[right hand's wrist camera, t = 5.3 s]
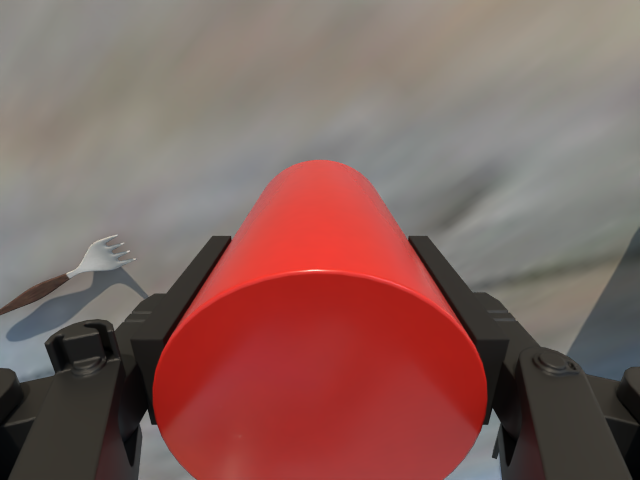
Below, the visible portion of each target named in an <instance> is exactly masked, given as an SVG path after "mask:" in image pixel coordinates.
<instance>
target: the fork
mask: <svg viewBox="0 0 640 480" xmlns="http://www.w3.org/2000/svg"><path fill="white" fill-rule="evenodd" d="M117 236H118V235H114V236H111V237H107V238H104V239H101V240H98V241H96V242H94V243H93V244H92V245H91V246H90V247H89V249H88V251H87V252H86V254H85V256H84V258H83V260H82V262H81V264H80V265H79V267H78V268H77V269H75V270H73V271H71V272H69V273H66V274H63V275H61V276H58V277H55V278H53V279H50V280H47V281H45V282H42V283H40V284H38V285H35V286H33V287H32V288H30V289H28V290H27V291H25V292H24V293H22V294H21V295H20V296H18V297H17V298H15V299H14V300H13V301H11V302H10V303H9V304H7V305H6V306H4V307H3V308H1V309H0V315H2V314H5V313H7V312H9V311H12V310H14V309H17V308H20V307H22V306H25V305H28V304H30V303H33V302H35V301H37V300H39V299H41V298H43V297H45V296H46V295H48V294H49V293H51V292H52V291H54V290H55V289H56V288H58V287H59V286H61V285H62V284H63V283H65V282H66V281H68V280H69V279H70V278H72V277H73V276H75V275H77V274H79V273H82V272H88V271H108V270H114V269H117V268H119V267H121V266H123V265H125V264H127V263H129V262H132V261H134V260H136V258H135V259H129V260H124V261H119V260H118V258H119V257H121V256H123V255H125V254H126V253H128V252H130V251H125V252H120V253H116V254H114V253H112V250H114V249H116V248H117V247H119V246H121V245H123V244H124V243H120V244H116V245H112V246H107V245H106V243H107V242H108V241H110V240H112V239H113V238H115V237H117Z"/></svg>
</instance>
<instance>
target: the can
mask: <svg viewBox="0 0 640 480" xmlns="http://www.w3.org/2000/svg"><path fill="white" fill-rule="evenodd" d="M487 399H488V398H487V379H486V375H485V371H484V367H483V363H482V360H481V358H480V356H479V353H478V351H477V349H476V346H475V345H474V343H473V342H472V340H471V338H470V337H469V335H468V334H467V332H466V331H465V329H464V328H463V326H462V324H461V323H460V321H459V320H458V318H457V317H456V315H455V313H454V312H453V310H452V309H451V307H450V306H449V304H448V302H447V301H446V299H445V298H444V296H443V295H442V293H441V291H440V290H439V288H438V287H437V285H436V284H435V282H434V280H433V279H432V277H431V276H430V274H429V273H428V271H427V269H426V268H425V266H424V265H423V263H422V262H421V260H420V258H419V257H418V255H417V254H416V252H415V251H414V249H413V247H412V246H411V244H410V243H409V241H408V240H407V238H406V237H405V235H404V233H403V232H402V230H401V229H400V227H399V226H398V224H397V222H396V221H395V219H394V218H393V216H392V215H391V213H390V211H389V210H388V208H387V207H386V205H385V204H384V202H383V200H382V199H381V197H380V196H379V194H378V193H377V191H376V190H375V188H374V186H373V185H372V184H371V183H370V182H369V181H368V179H367V178H365V177H364V176H363V175H362V174H361V173H359V172H358V171H356V170H355V169H353V168H351V167H349V166H347V165H345V164H341V163H338V162H334V161H329V160H312V161H306V162H301V163H298V164H296V165H293V166H291V167H289V168H287V169H285V170H284V171H282V172H281V173H279V174H278V175H277V176H276V177H275V178H274V179H272V180H271V181H270V183H269V184H268V185H267V186H266V188H265V189H264V191H263V192H262V194H261V196H260V197H259V199H258V200H257V202H256V203H255V205H254V206H253V208H252V210H251V211H250V213H249V214H248V216H247V217H246V219H245V221H244V222H243V224H242V225H241V227H240V228H239V230H238V232H237V233H236V235H235V236H234V238H233V239H232V241H231V243H230V244H229V246H228V247H227V249H226V250H225V252H224V253H223V255H222V257H221V258H220V260H219V261H218V263H217V264H216V266H215V268H214V269H213V271H212V272H211V274H210V275H209V277H208V279H207V280H206V282H205V283H204V285H203V286H202V288H201V290H200V291H199V293H198V294H197V296H196V297H195V299H194V300H193V302H192V304H191V305H190V307H189V308H188V310H187V311H186V313H185V315H184V316H183V318H182V319H181V321H180V322H179V324H178V326H177V327H176V329H175V330H174V332H173V333H172V335H171V337H170V338H169V340H168V342H167V344H166V345H165V347H164V349H163V351H162V353H161V355H160V358H159V361H158V364H157V366H156V370H155V375H154V381H153V408H154V413H155V419H156V422H157V425H158V428H159V431H160V433H161V436H162V438H163V440H164V441H165V443H166V445H167V447H168V449H169V450H170V452H171V453H172V454H173V456H174V457H175V458H176V460H177V461H178V462H179V463H180V465H181V466H182V467H183V468H184V469H185V470H186V471H187V472H188V473H189V474H190V475H191V476H193V477H194V478H195V479H196V480H444V479H445V478H446V477H447V476H448V475H449V474H451V473H452V472H453V471H454V470H455V469H456V468H457V466H458V465H459V464H460V463H461V462H462V461H463V460H464V459H465V457H466V456H467V454H468V453H469V451H470V450H471V448H472V447H473V446H474V444H475V441H476V439H477V437H478V435H479V433H480V431H481V428H482V425H483V422H484V418H485V415H486V407H487Z"/></svg>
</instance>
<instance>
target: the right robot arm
mask: <svg viewBox="0 0 640 480" xmlns="http://www.w3.org/2000/svg"><path fill="white" fill-rule="evenodd" d="M408 241H409V243H410V244H411V246H412V247H413V249H414V251H415V252H416V254H417V255H418V257H419V258H420V260H421V262H422V263H423V265H424V266H425V268H426V269H427V271H428V273H429V274H430V276H431V277H432V279H433V280H434V282H435V284H436V285H437V287H438V288H439V290H440V291H441V293H442V295H443V296H444V298H445V299H446V301H447V302H448V304H449V306H450V307H451V309H452V310H453V312H454V313H455V315H456V317H457V318H458V320H459V321H460V323H461V324H462V326H463V328H464V329H465V331H466V332H467V334H468V335H469V337H470V338H471V340H472V342H473V343H474V345H475V346H476V349H477V351H478V353H479V356H480V358H481V360H482V363H483V367H484V371H485V375H486V379H487V398H488V399H487V407H486V415H485V418H484V422H483V425H488V423H489V419H490V415H491V411H492V408H493V409H494V411H495V413H496V414H497V416H498V418H499V420H500V422H501V424H500V427H499V431H498V435H497V438H496V442H495V446H494V449H493V455H492V458H495V459H497V457H498V453H499V454H500V463H501V473H502V480H640V367H630V368H629V369H627V370H626V371H625V372H624V375H623V377H622V380H621V382H620V381H615V380H611V379H606V378H601V377H596V376H592V375H588V374H585V372H584V371H583V370H582V368H581V367H580V366H579V364H577V363H576V362H575V361H573V360H572V359H571V358H569V357H568V356H566V355H564V354H562V353H560V352H558V351H555V350H551V349H548V348H544V347H540V346H539V345H538V343H537V342H536V341H535V340H534V339H533V338H532V337H531V336H530V335H529V333H528V332H527V331H526V330H525V329H524V328H523V327H522V326H521V325H520V323H519V322H518V321H516V320H515V318H514V317H513V316H512V315H511V313H508V310H507V309H506V308H505V307H504V306H503V305H502V303H501V302H500V301H498V300H497V299H495V298H494V297H492V296H490V295H489V294H487V293H472V291H471V290H470V289H469V288H468V286H467V285H466V284H465V283H464V281H463V280H462V279H461V278H460V276H459V275H458V274H457V273H456V271H455V270H454V269H453V268H452V266H451V265H450V264H449V263H448V261H447V260H446V259H445V258H444V256H443V255H442V254H441V253H440V251H439V250H438V249H437V248H436V246H435V245H434V244H433V243H432V241H431V240H430V239H429V238H428V236H409V238H408ZM230 243H231V236H212V237H211V239H210V240H209V241H208V242H207V244H206V245H205V246H204V247H203V249H202V250H201V251H200V252H199V254H198V255H197V256H196V257H195V259H194V260H193V261H192V262H191V264H190V265H189V266H188V267H187V269H186V270H185V271H184V272H183V273H182V275H181V276H180V277H179V278H178V280H177V281H176V282H175V283H174V285H173V286H172V287H171V288H170V290H169V291H168V292H167V293H166V294H153V295H152V296H150V297H148V298H147V299H145V300H143V301H142V302H140V304H139V305H138V306H137V307H136V308H135V309H134V310H133V311H132V314H130V315H129V316H128V317H127V318H126V319H125V322H123V323H122V324H121V325H120V326H119V327H118V328H117V329H116V330H115V331H114V328H113V324H111V323H110V322H108V321H107V320H100V319H95V320H86V321H82V322H78V323H75V324H72V325H70V326H67V327H65V328H63V329H61V330H59V331H58V332H56V333H55V334H53V335H52V336H51V337H50V338H49V339H48V340H47V341H46V342H45V343H44V344H45V347H46V349H47V352H48V355H49V357H50V360H51V363H52V365H53V368H54V371H55V375H54V376H51V377H46V378H41V379H37V380H32V381H27V382H23V383H19V380H18V378H17V376H16V373H15V372H14V371H12V370H11V369H7V368H0V480H138V474H139V464H140V455H141V445H142V432H141V427H140V424H139V423H140V421H141V419H142V418H143V416H144V414H145V412H146V410H147V409H148V412H149V416H150V420H151V424H152V425H157V422H156V419H155V413H154V408H153V381H154V375H155V370H156V366H157V364H158V361H159V358H160V355H161V353H162V351H163V349H164V347H165V345H166V344H167V342H168V340H169V338H170V337H171V335H172V333H173V332H174V330H175V329H176V327H177V326H178V324H179V322H180V321H181V319H182V318H183V316H184V315H185V313H186V311H187V310H188V308H189V307H190V305H191V304H192V302H193V300H194V299H195V297H196V296H197V294H198V293H199V291H200V290H201V288H202V286H203V285H204V283H205V282H206V280H207V279H208V277H209V275H210V274H211V272H212V271H213V269H214V268H215V266H216V264H217V263H218V261H219V260H220V258H221V257H222V255H223V253H224V252H225V250H226V249H227V247H228V246H229V244H230Z"/></svg>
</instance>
